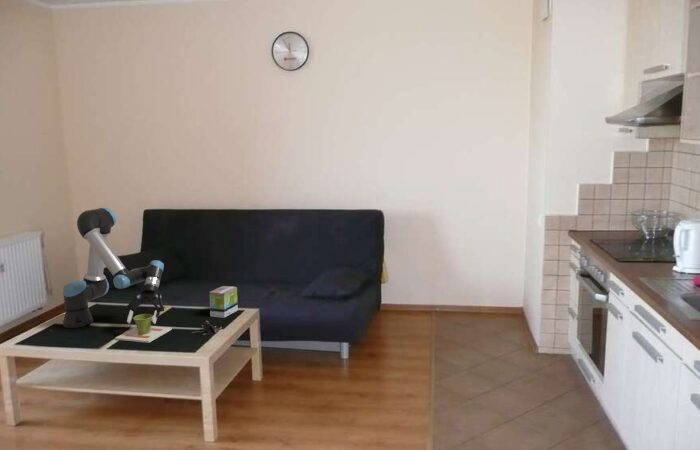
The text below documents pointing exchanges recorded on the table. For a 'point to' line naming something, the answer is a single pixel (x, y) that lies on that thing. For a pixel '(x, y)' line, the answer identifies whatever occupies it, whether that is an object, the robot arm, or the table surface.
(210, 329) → the stuffed animal
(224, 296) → the tea box
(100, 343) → the table surface
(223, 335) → the table surface
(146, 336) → the letter board
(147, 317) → the plant pot
